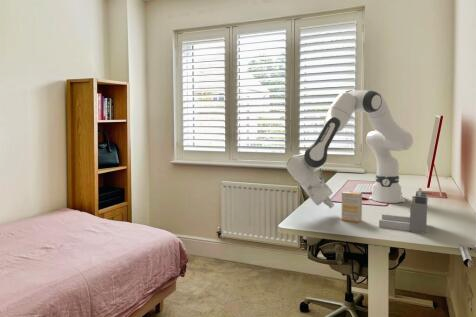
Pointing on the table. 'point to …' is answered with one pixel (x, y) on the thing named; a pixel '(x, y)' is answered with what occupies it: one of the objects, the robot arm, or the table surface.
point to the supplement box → (351, 206)
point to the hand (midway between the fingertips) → (332, 206)
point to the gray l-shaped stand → (416, 216)
